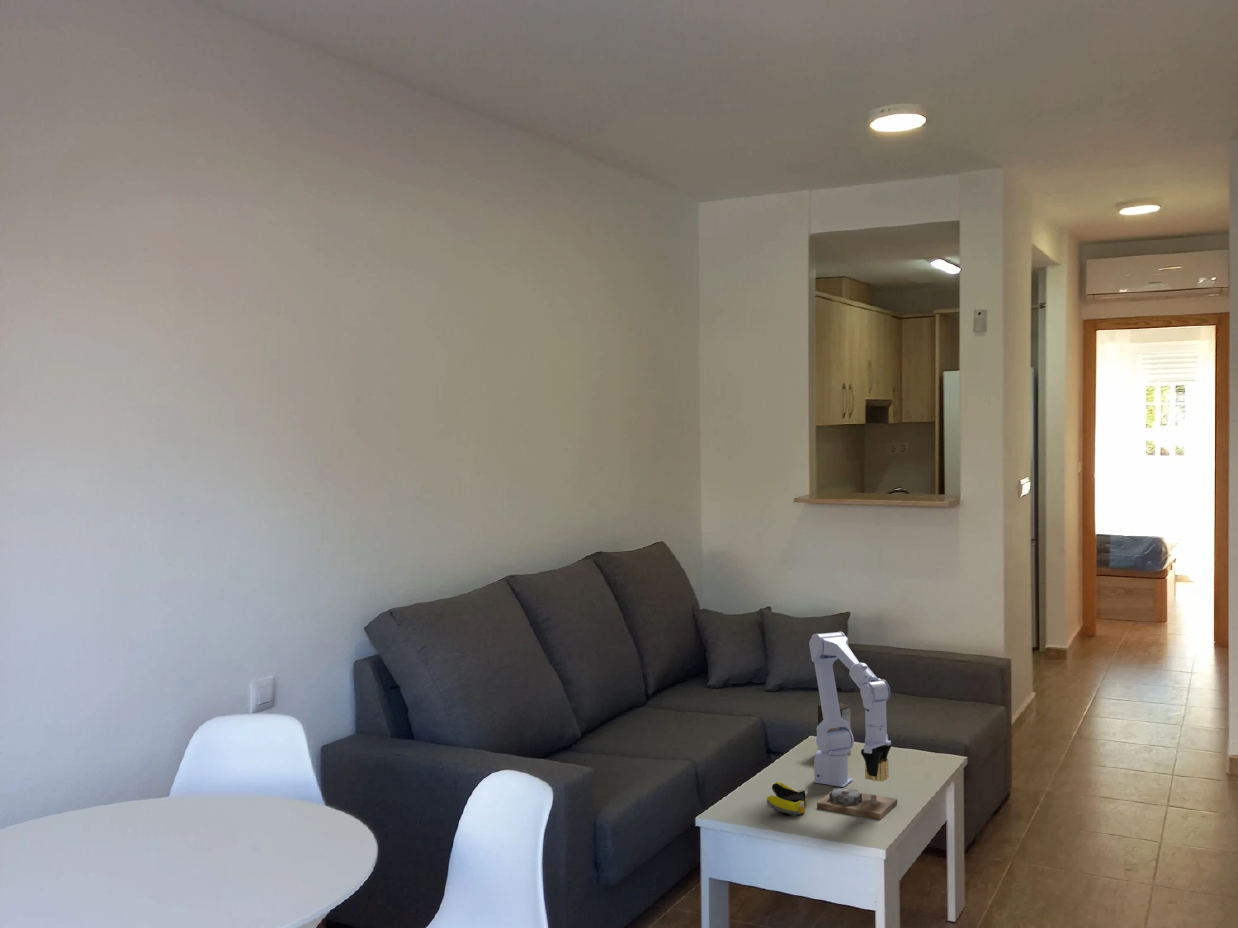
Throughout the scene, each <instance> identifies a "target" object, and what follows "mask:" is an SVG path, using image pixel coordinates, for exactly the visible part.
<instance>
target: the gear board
mask: <svg viewBox="0 0 1238 928" xmlns="http://www.w3.org/2000/svg"><path fill="white" fill-rule="evenodd" d="M897 805H898V798H894V797H888V796H882V795H877V794H871V793H870V794H869V793H864V792H859V790H858V789H852V788H847V787H841V788H832V790H831V791H829V792H828V794H826V795H825V796H824V797H823V798H821V799H820V800H819V801H817V802H816V808H817V809H820V810H827V811H831V812H837V813H842V814H843V813H844V814H849V815H854V816H858V817H865V818H871V819H876V820H882V819H883V818H884V817H885V816H886V815H888V813H890V811H891V810H893V809H894V808H895V807H896V806H897Z"/></svg>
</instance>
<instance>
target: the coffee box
mask: <svg viewBox="0 0 1238 928" xmlns="http://www.w3.org/2000/svg"><path fill="white" fill-rule="evenodd" d="M851 707H852V706H851V705H849V704H844V703H839V708H840V714H841V718H842V719H843V720H845V721H846V722H848V723H849V726H850V730H851V731H852V727H851V721H852V720H851V718H852V713H851V712H852V709H851ZM823 720H824V719H823V713H822V707H821V703H819V704H817V726H818V725H819V724H820V723H821V722H822V721H823ZM836 729H839V728H831V729H829V730H836ZM851 749H852V748H851ZM851 749H850V752H849V753H848V756H850V755H851V753H852V750H851ZM818 750H820V749H819V748H818V747H817V751H818Z"/></svg>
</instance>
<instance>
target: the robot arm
mask: <svg viewBox="0 0 1238 928" xmlns="http://www.w3.org/2000/svg"><path fill="white" fill-rule="evenodd" d="M808 644H809V650H810V657H811V661H812V663H814V670H815V675H816V681H817V682H816V683H817V687H818V693H819V700H820V704H821V707H822V713H823V719H824V720H823V721H822V722H821V723H820V724H819V725H818V724H817V726H816V745H817V751H816V752H815V754H814V760H813V767H814V768H813V775H814V778H813V781H812V782H813V783H815V784H816V783H817V784H823V785H828V786H834V787H839V788H840V787H841V788H845V787H846V786H847V785H848V784H850V783H851V782H853V780H854V778H851V777H849V762H848V759H849V758H848V757H849V755H848V753H849V752H850V749H852V748H853V746H854V743H855V739H854V738H855V737H854V735H853V732H852V729H851V730H850V726H849V723H848V722H846V721H845V720H843V719H842V718H841V714H840V708H839V696H838V690H837V685H836V679H835V673H834V668H833V667H834V666H833V665H834V663H835V661H836V660H840V662H841V663H842V664H843V665H844V666H845V667H846V668H847V669H848V670H849V671H848V672H849V674H848V675H849V677H850V678H851V680H852V681H853V682H854V684H855V685H856V686H857V687H858V688H859V692H860V696H861V699H862V706H863V708H864V709H865V711H864V713H865V714H864V715H865V716H864V717H865V718H864V720H865V722H864V724H865V725H864V726H865V739H864V746H863V748H862V749H861V750H860V754H861V756H862V757H863V759H864V763H865V762H866V766H867V770H868V774H869V776H875V777H876V776H877V774H878V766H879V760H880V758H884V759H888V755H889V754H890V753H889V752H890V750H891V748H892V741H891V740H889V734H887V733H888V732H887V730H888V729H887V701H889V699H890V698H891V687H890V685H889V683H888V681H887V680H885V679H881V678H879V677H877V676H876V674H874V672H873V670H871V669H870V667H869V666H868V665H867V663H864V662H860V661H859V660H858V658H857V657H856V655H855V654H854V653H853V651H852V649H851V648H850V647H849V638H848V637H847V636H846V635H845V633H844V632H843V631H837V632H826V633H825V632H824V633H813V634H812V636H811V637H810V640H809V641H808ZM831 728H839V729H836V730H829V729H831ZM818 748H819V749H820V750H818Z"/></svg>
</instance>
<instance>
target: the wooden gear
mask: <svg viewBox="0 0 1238 928" xmlns="http://www.w3.org/2000/svg"><path fill="white" fill-rule="evenodd" d="M864 774H865V775H864V778H865V780H869V781H874V782H884V781H886V780H888V778H889V776H890V775H889V774H890V773H889V759H888V758H887V759H884V758H880V760H879V766H878V774H877V776H876V777H875V776H869V774H868V770H867V766H866V762H865V761H864Z"/></svg>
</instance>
